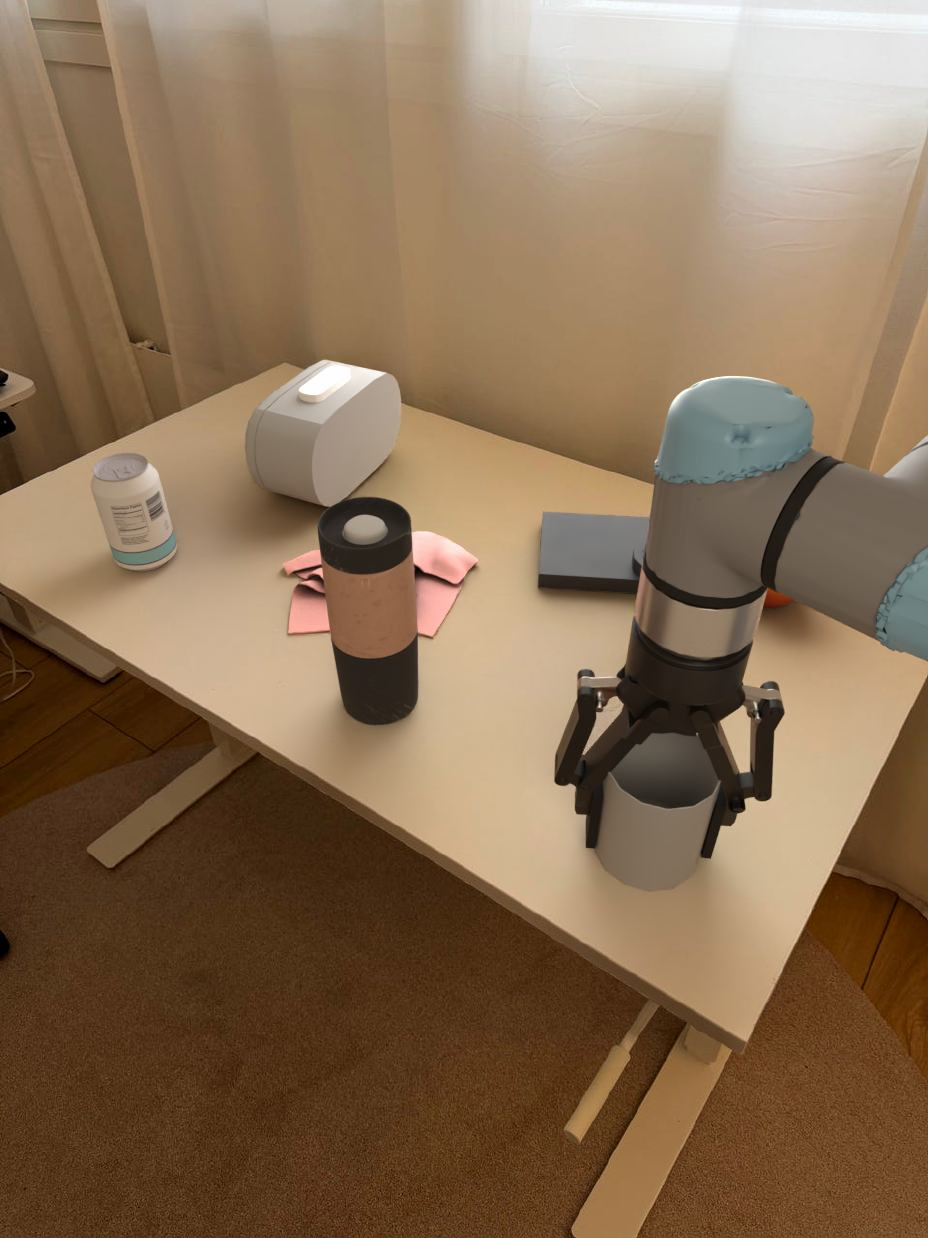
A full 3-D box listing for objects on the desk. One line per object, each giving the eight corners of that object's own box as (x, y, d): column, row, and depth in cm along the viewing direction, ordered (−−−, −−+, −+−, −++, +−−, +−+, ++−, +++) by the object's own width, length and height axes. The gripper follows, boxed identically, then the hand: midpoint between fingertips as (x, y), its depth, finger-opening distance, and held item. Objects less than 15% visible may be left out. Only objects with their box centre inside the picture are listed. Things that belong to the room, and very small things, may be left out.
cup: (576, 819, 73) (586, 737, 67) (663, 791, 75) (682, 708, 69) (625, 905, 67) (642, 825, 61) (719, 871, 69) (745, 790, 63)
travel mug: (323, 696, 84) (296, 519, 71) (387, 658, 88) (372, 484, 75) (373, 741, 80) (354, 562, 67) (437, 699, 84) (432, 523, 71)
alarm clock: (343, 433, 122) (333, 338, 113) (403, 448, 119) (398, 352, 110) (253, 508, 108) (233, 407, 99) (319, 528, 105) (305, 425, 96)
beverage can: (165, 533, 104) (140, 442, 97) (189, 562, 100) (165, 469, 92) (107, 554, 101) (76, 462, 93) (129, 585, 97) (99, 491, 89)
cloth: (500, 555, 101) (500, 538, 99) (400, 676, 86) (399, 657, 84) (348, 509, 108) (346, 492, 106) (232, 613, 93) (228, 595, 92)
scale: (679, 532, 104) (684, 507, 102) (689, 600, 95) (694, 574, 92) (542, 524, 105) (543, 499, 103) (537, 591, 96) (539, 565, 94)
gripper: (852, 596, 58) (775, 811, 73) (528, 576, 60) (517, 791, 75) (881, 676, 52) (791, 892, 67) (522, 652, 54) (511, 868, 69)
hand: (647, 839), depth 71 cm, fingers closed on cup, 8 cm apart
